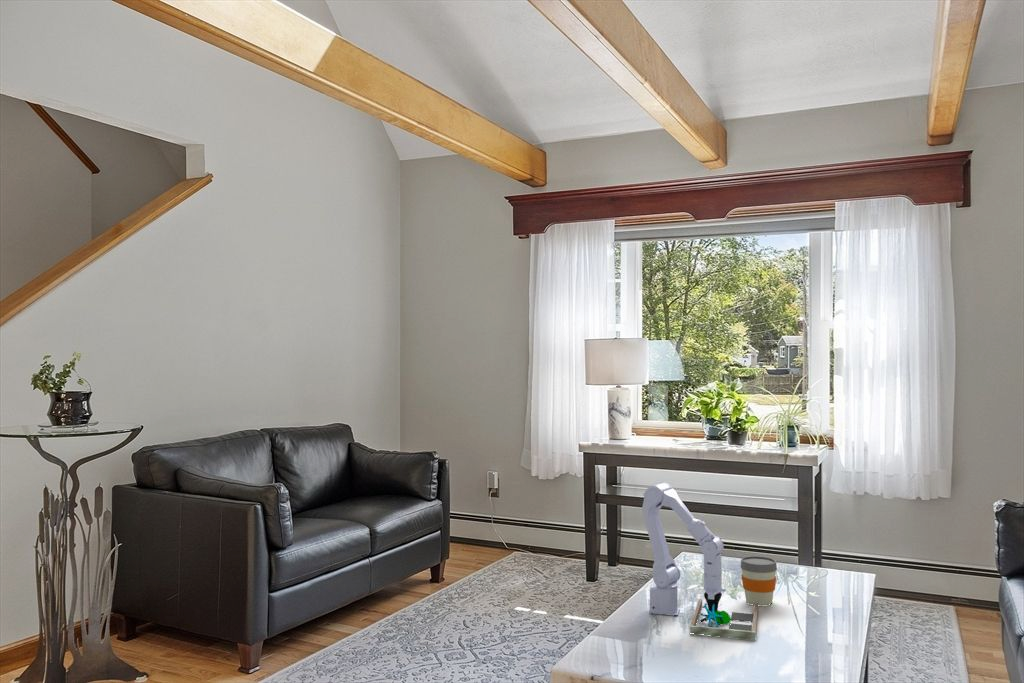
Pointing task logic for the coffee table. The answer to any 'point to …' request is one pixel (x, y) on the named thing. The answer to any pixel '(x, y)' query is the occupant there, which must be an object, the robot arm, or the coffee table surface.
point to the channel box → (721, 631)
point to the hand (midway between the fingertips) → (713, 614)
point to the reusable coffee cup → (758, 579)
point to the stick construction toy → (716, 616)
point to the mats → (741, 618)
